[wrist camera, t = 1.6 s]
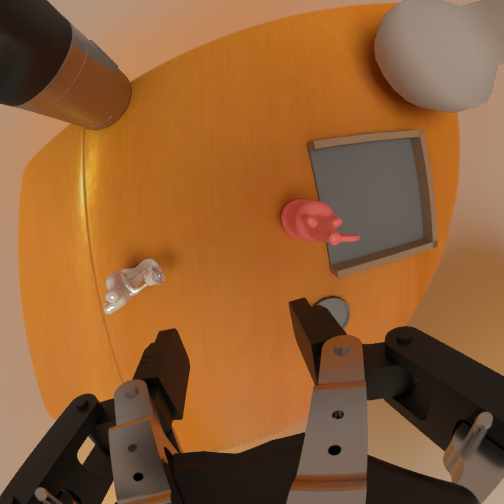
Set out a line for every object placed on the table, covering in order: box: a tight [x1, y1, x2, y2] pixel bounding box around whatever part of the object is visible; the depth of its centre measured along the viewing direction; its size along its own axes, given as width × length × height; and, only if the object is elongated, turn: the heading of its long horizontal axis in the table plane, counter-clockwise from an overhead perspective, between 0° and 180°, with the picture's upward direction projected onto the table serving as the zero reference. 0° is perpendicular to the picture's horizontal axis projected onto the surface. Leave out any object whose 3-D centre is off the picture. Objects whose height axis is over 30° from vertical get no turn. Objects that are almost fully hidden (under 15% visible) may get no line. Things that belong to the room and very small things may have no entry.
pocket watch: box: [315, 297, 350, 329], centre depth 36 cm, size 8×8×10 cm
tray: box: [307, 130, 437, 278], centre depth 36 cm, size 18×18×3 cm
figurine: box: [104, 258, 165, 314], centre depth 31 cm, size 5×9×12 cm, turn 125°
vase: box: [374, 0, 504, 113], centre depth 19 cm, size 17×16×28 cm
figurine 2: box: [281, 199, 360, 245], centre depth 29 cm, size 5×5×15 cm
